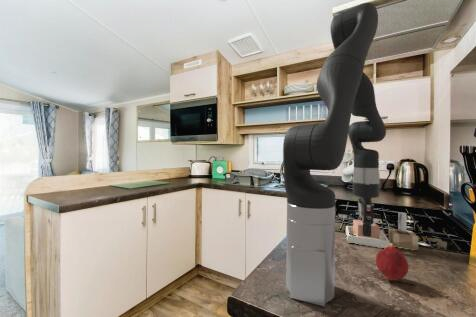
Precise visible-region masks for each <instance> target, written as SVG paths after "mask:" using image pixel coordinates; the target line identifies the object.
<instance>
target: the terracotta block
mask: <svg viewBox="0 0 476 317" xmlns="http://www.w3.org/2000/svg"><path fill="white" fill-rule="evenodd" d="M352 220H353V221H352V227H353V232H354V233H355V234H356V236H360V237H367V238H375V239H379V230H380V225H378V224H377V223H375V221H373V224H372V225H371V236H370V237H368V236H364V235H363V223H362V220H360V219H352Z"/></svg>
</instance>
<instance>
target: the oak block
mask: <svg viewBox="0 0 476 317" xmlns="http://www.w3.org/2000/svg"><path fill="white" fill-rule="evenodd" d="M388 240H389V241H390V242H391V243H392V244H394V246H396V247H403V248H409V249H414V250H418V251H419V236H418V235H416V234H415V233H414V232H413V231H412V230H406V234H398V228H397V229H396V228H388ZM414 250H413V251H414Z"/></svg>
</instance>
